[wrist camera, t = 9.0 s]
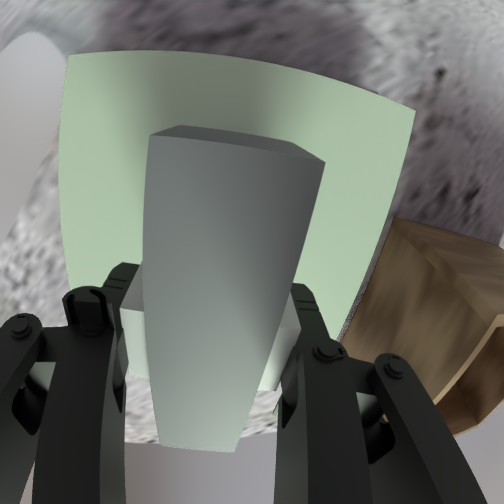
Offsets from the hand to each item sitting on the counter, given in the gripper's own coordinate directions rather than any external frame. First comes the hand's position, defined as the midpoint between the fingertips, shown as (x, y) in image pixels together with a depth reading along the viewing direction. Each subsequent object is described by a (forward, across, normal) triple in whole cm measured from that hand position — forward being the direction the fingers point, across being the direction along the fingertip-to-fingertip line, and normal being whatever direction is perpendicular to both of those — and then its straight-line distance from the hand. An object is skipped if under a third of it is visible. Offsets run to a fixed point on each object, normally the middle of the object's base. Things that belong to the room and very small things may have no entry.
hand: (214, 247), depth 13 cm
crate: (+7, +21, -7) cm, 23 cm away
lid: (+2, 0, 0) cm, 2 cm away
